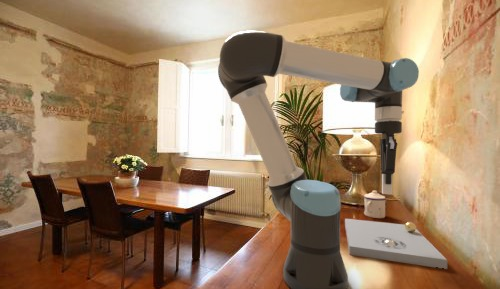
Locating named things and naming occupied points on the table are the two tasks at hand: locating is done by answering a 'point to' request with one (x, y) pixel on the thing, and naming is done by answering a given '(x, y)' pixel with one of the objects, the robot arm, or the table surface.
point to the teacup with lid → (374, 205)
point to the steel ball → (389, 242)
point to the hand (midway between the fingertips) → (387, 193)
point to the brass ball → (410, 227)
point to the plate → (406, 250)
